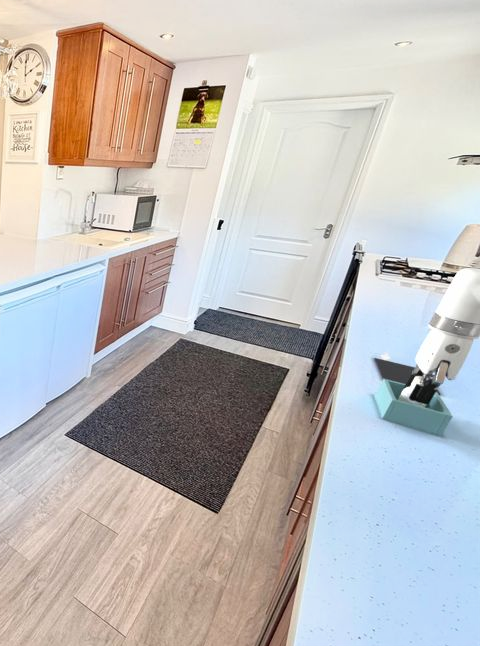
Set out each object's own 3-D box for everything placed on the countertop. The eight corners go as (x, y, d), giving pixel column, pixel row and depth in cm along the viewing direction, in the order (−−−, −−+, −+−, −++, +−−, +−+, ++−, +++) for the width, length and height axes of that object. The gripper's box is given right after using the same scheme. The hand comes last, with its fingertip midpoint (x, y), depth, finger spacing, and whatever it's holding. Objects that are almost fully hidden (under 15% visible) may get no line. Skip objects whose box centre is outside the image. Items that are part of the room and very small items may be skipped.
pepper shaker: (420, 416, 95) (440, 382, 91) (413, 420, 93) (433, 385, 90) (398, 407, 98) (416, 373, 95) (390, 410, 97) (409, 376, 93)
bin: (426, 410, 98) (437, 392, 96) (440, 436, 89) (453, 416, 87) (374, 396, 103) (383, 378, 101) (381, 418, 94) (392, 399, 92)
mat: (424, 371, 118) (425, 369, 118) (439, 395, 105) (440, 394, 105) (374, 358, 124) (374, 357, 124) (383, 380, 111) (383, 379, 111)
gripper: (496, 343, 79) (448, 419, 86) (468, 319, 91) (429, 387, 98) (441, 332, 83) (400, 406, 90) (422, 310, 95) (387, 376, 102)
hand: (415, 395), depth 94 cm, fingers closed on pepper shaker, 4 cm apart
